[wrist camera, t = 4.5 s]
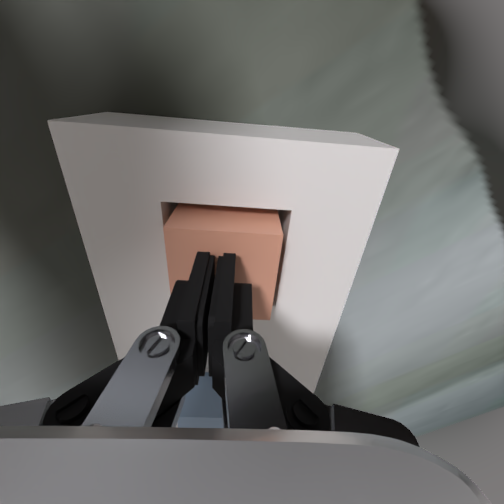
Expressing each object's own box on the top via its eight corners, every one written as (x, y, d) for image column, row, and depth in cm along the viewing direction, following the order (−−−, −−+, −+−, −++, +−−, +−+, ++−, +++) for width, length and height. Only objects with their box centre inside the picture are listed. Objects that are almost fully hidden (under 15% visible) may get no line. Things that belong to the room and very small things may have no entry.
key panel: (107, 111, 14) (46, 119, 10) (356, 132, 15) (399, 148, 11) (156, 376, 27) (139, 429, 23) (291, 380, 27) (299, 434, 23)
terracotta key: (179, 201, 13) (163, 227, 11) (276, 208, 14) (283, 235, 11) (185, 279, 16) (172, 315, 13) (266, 284, 16) (270, 320, 14)
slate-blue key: (186, 371, 18) (176, 416, 16) (257, 374, 19) (258, 419, 16) (190, 409, 21) (181, 453, 18) (252, 411, 21) (252, 455, 19)
